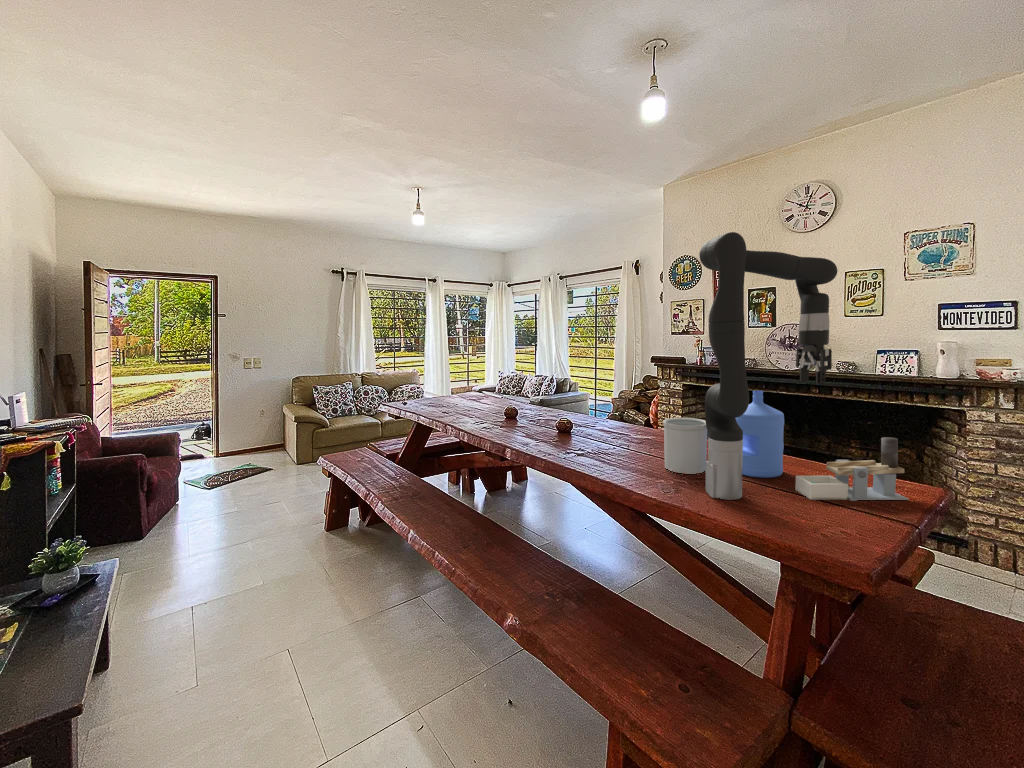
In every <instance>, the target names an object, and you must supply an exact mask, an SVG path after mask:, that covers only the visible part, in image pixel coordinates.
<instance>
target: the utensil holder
mask: <svg viewBox="0 0 1024 768" xmlns="http://www.w3.org/2000/svg"><path fill="white" fill-rule="evenodd" d="M662 422H663V423H662V424H663V437H664V438H663V439H664V441H663V442H664V445H663V449H664V451H663V452H664V469H665V468H666V469H668V470H670V471H673V472H678V473H685V474H686V473H687V474H696V473H702V472H704V471H705V472H706V461H707V458H708V430H707V428H706V422H705V419H700V418H694V417H672V418H671V417H670V418H665V419H664V420H663V421H662ZM666 469H665V470H666ZM668 470H667V471H668ZM670 471H669V472H670ZM673 472H672V473H673ZM705 472H704V473H705ZM702 474H703V473H702Z"/></svg>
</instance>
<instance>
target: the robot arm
mask: <svg viewBox="0 0 1024 768" xmlns="http://www.w3.org/2000/svg"><path fill="white" fill-rule="evenodd" d="M698 255H699V256H698V257H699V261H700V263H701V265H703V267H704V268H706V269H708V270H711V271H718V285H717V286H718V287H717V292H716V295H715V298H714V299H713V302H712V304H711V308H710V310H709V313H708V339H709V343H710V347H711V350H712V352H713V355H714V357H715V360H716V362H717V365H718V369H719V383H715V384H713V385H711V386H710V387H709V388H708V390H707V391H706V393H705V397H704V398H705V399H704V414H705V415H704V416H705V419H704V420H705V422H706V428H707V460H706V470H705V488H704V489H705V490H706V491H705V492H706V493H707V494H708V495H709V496H710V497H711V498H712V499H719V498H720V500H728V501H731V500H732V501H734V500H740V499H741V498H742V497H743V475H742V468H743V430H742V429H741V428H740V426H739V425H738V423H737V421H736V417H740V416H742V415H743V414H744V413H745V412H746V410H747V408H748V405H749V404H750V392H749V386H748V385H749V384H748V379H747V371H746V370H747V369H746V350H745V349H746V348H745V345H746V343H745V333H746V331H745V324H746V323H745V286H744V285H745V277H746V276H745V274H746V273H751V274H757V275H762V276H768V277H771V278H776V279H780V280H786V281H795V282H794V283H795V286H796V289H797V294H798V297H799V300H800V310H799V311H800V312H799V313H800V316H799V321H798V346H799V345H800V346H802V347H798V348H796V355H795V368H798V370H799V381H800V382H809V379H810V368H811V365H812V366H813V367H815V370H816V372H815V384H816V385H818V386H819V385H822V386H823V385H826V373H827V372H828V371H829V370H832V369H833V367H832V365H833V364H832V363H833V361H832V354H833V353H832V349H831V348H825V347H824V346H826V345H828V344H829V342H830V315H829V314H830V313H829V311H830V297H829V294H827V293H826V292H825V293H824V292H820V291H819V289H818V288H819V287H818V286H819V285H820V286H821V285H824V284H825V285H826V284H828V283H831V282H832V281H833V280H834V279H835V278H836V277H837V275H838V267H837V265H836V263H835V262H833V261H832V260H830V259H828V258H824V257H814V256H813V257H811V256H810V257H809V256H798V255H795V254H790V253H786V252H780V251H771V250H770V251H769V250H767V251H766V250H748V249H747V244H746V240H745V239H744V237H743V236H742V235H741V234H740V233H738V232H735V231H730V232H726V233H723V234H721V235H718V236H716V237H713V238H711V239H709V240H707V241H706V242H705V243H704V244H703V245H702V246H701V248H700V250H699V254H698Z"/></svg>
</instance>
